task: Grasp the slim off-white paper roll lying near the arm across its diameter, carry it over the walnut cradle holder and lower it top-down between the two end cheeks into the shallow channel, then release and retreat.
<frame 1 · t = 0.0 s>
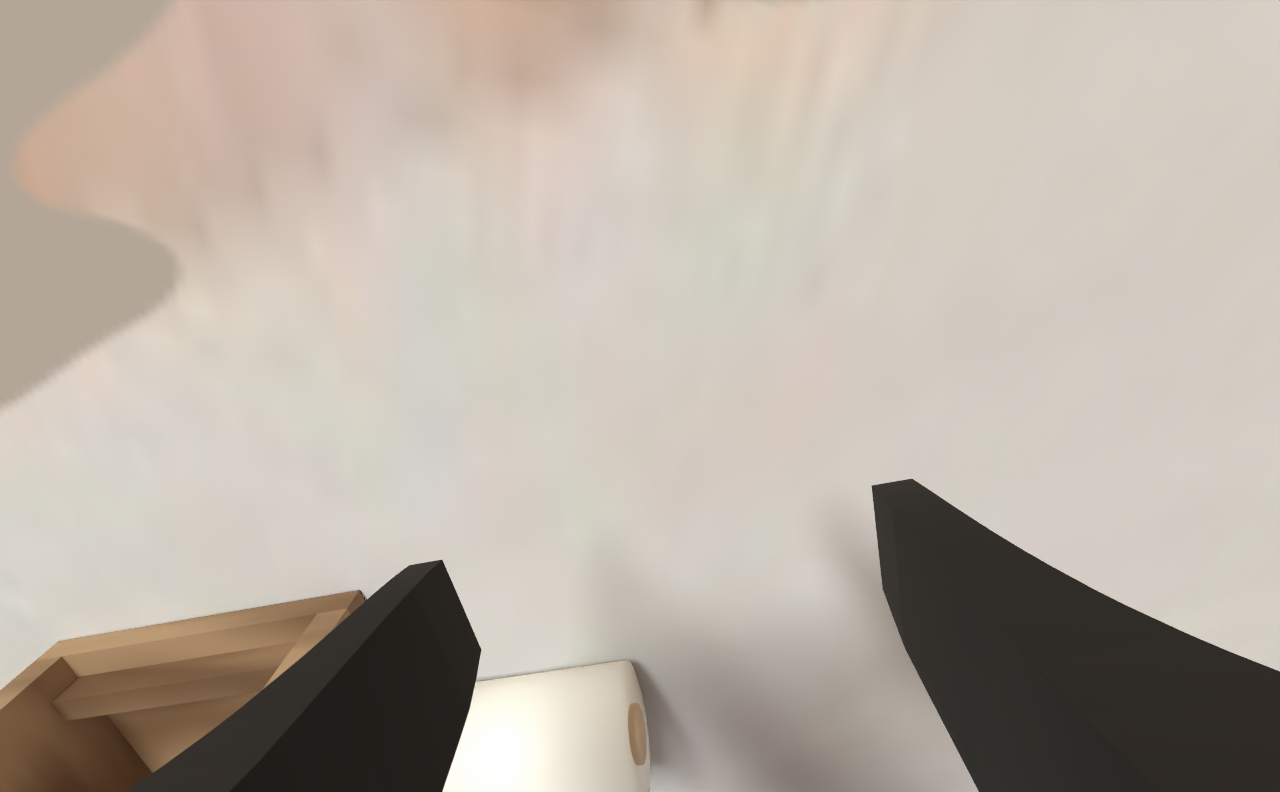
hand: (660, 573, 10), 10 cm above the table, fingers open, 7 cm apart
roll: (542, 691, 26), on the table
holder: (261, 707, 27), on the table
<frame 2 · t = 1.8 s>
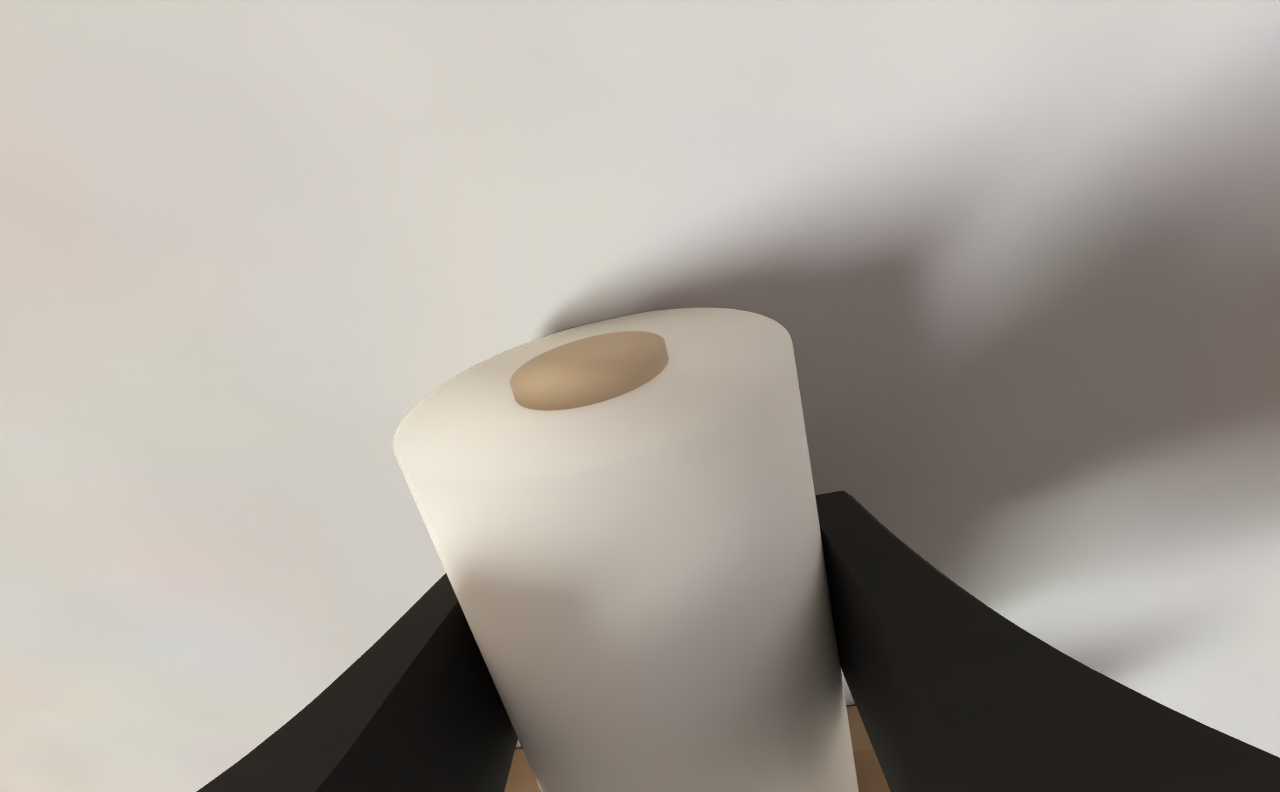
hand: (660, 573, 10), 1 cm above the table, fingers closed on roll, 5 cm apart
roll: (661, 520, 12), on the table, touching gripper
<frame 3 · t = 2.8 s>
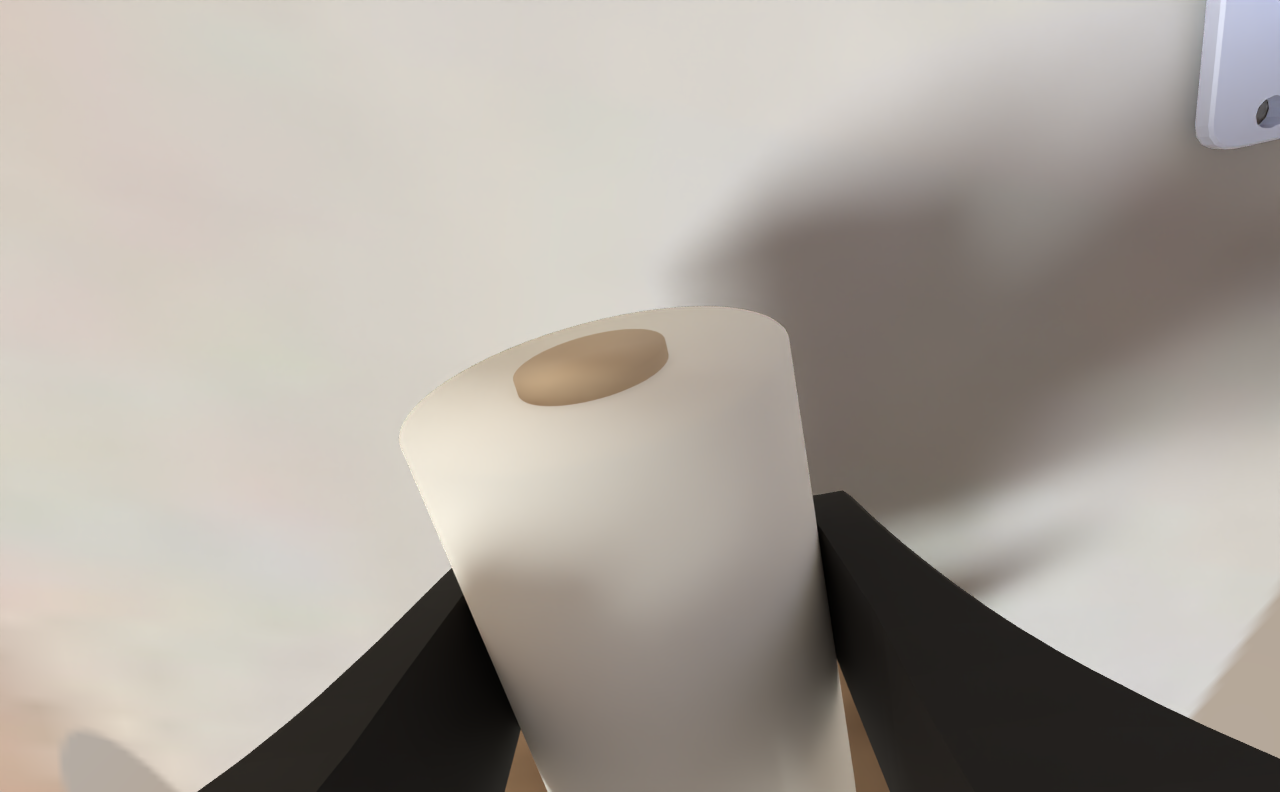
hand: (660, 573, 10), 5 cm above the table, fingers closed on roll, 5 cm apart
roll: (654, 518, 12), point 3 cm above the table, touching gripper
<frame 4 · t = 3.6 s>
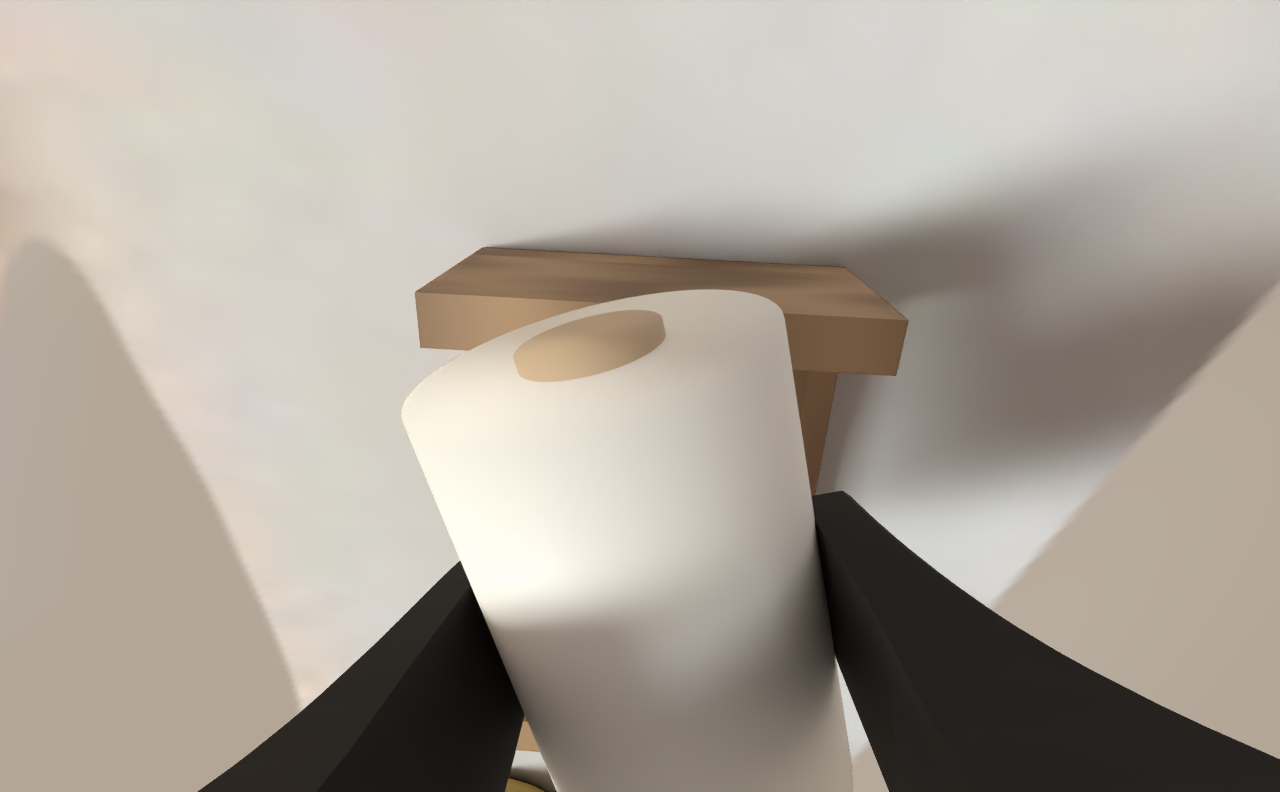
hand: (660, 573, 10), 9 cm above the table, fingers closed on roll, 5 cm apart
roll: (644, 504, 12), point 7 cm above the table, tilted 7°, touching gripper
holder: (650, 468, 20), on the table
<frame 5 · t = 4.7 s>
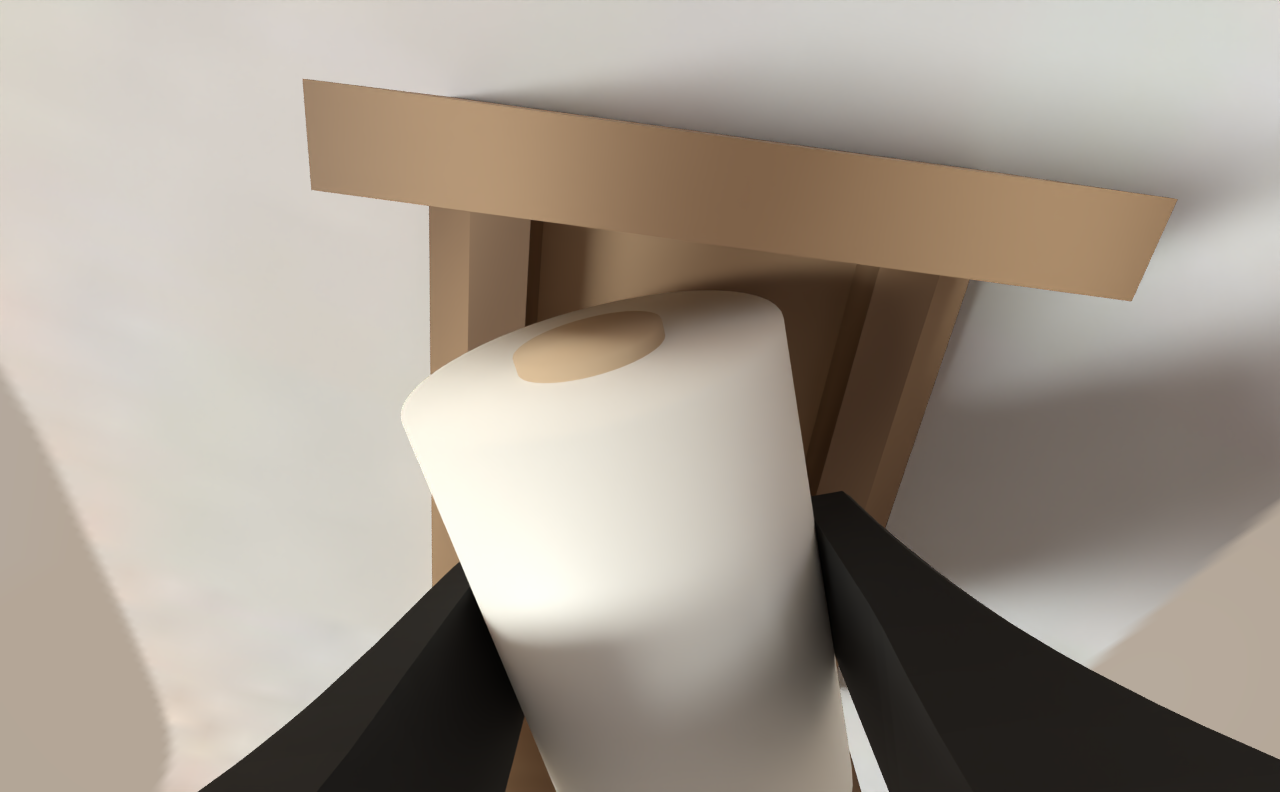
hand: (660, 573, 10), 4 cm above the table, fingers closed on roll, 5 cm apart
roll: (644, 504, 12), point 2 cm above the table, tilted 7°, touching gripper
holder: (663, 448, 14), on the table
when the fingers open (4 cm above the table, at t = 5.3 s): roll stays where it is, resting on holder.
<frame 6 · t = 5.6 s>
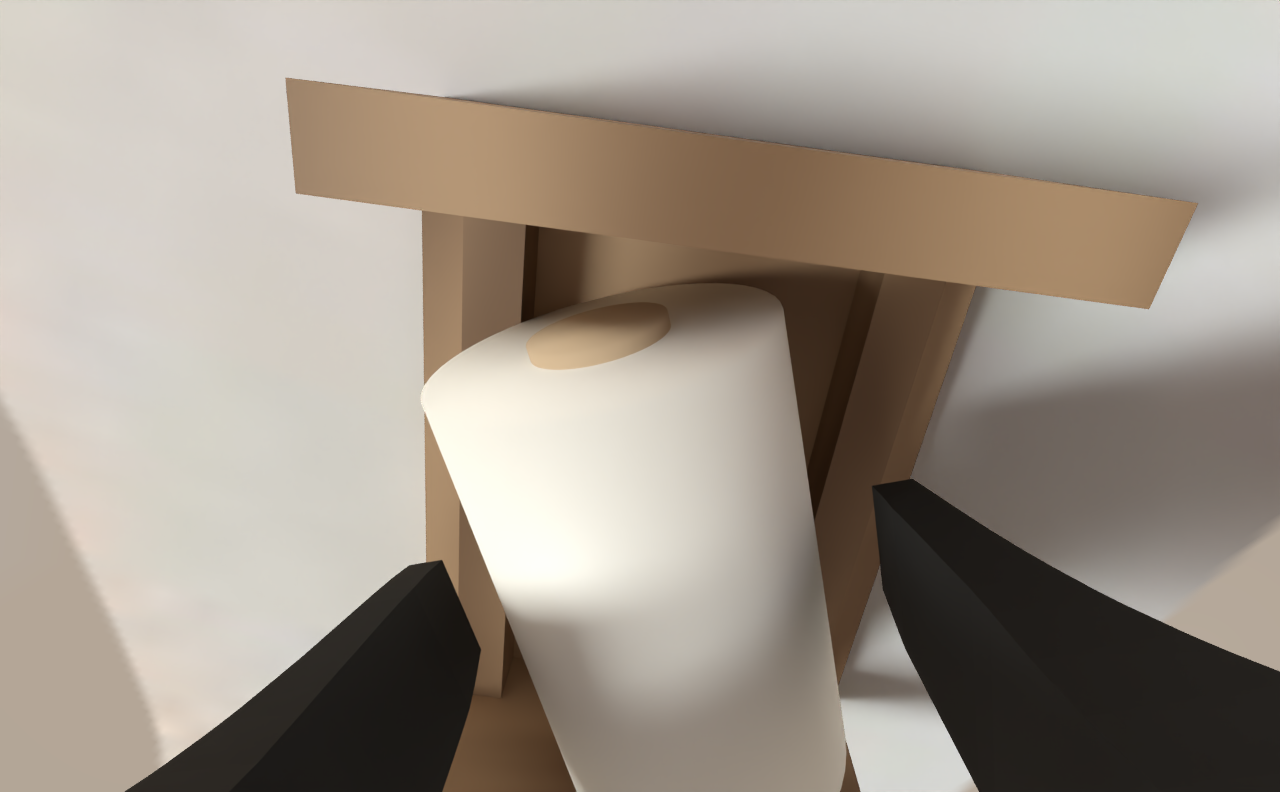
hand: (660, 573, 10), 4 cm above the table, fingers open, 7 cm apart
roll: (644, 490, 13), point 2 cm above the table, tilted 8°, touching holder
holder: (663, 456, 14), on the table
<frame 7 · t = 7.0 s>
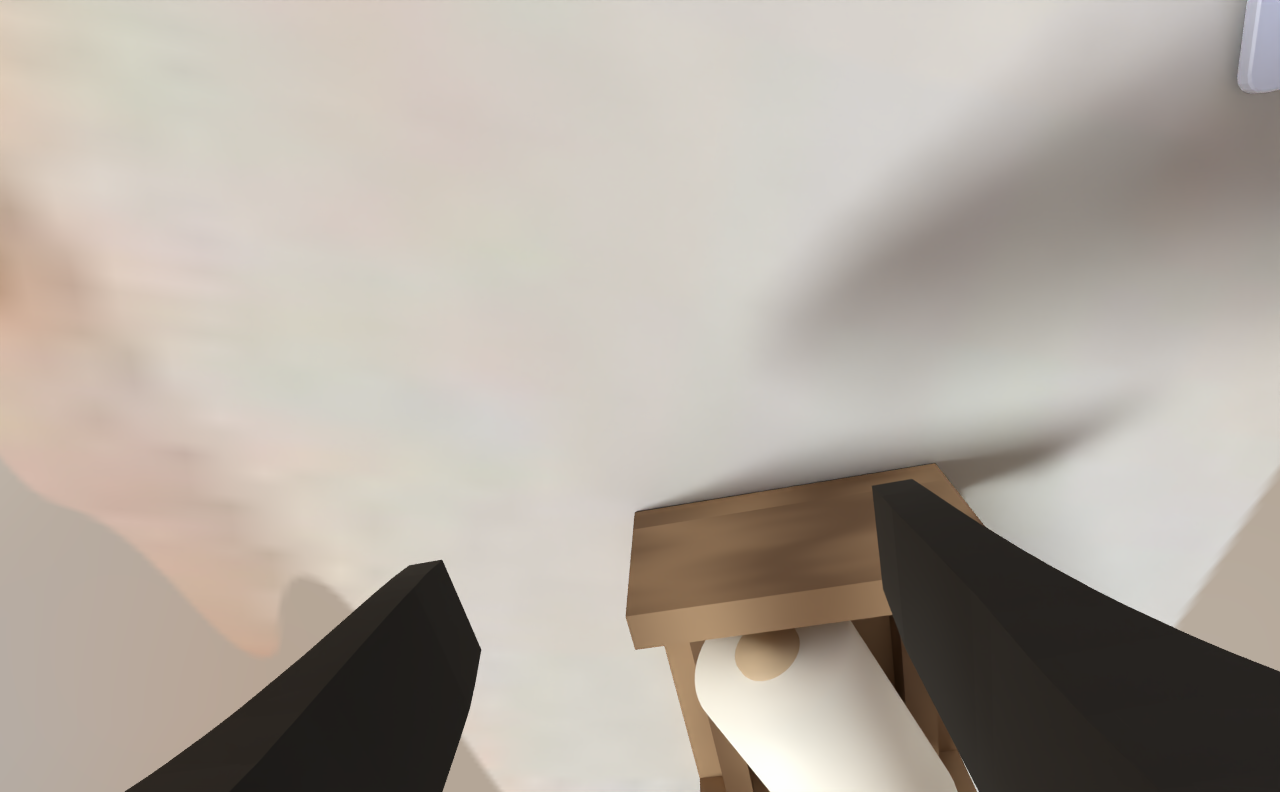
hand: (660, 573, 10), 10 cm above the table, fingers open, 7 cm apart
roll: (802, 674, 22), point 2 cm above the table, tilted 8°, touching holder
holder: (804, 639, 24), on the table
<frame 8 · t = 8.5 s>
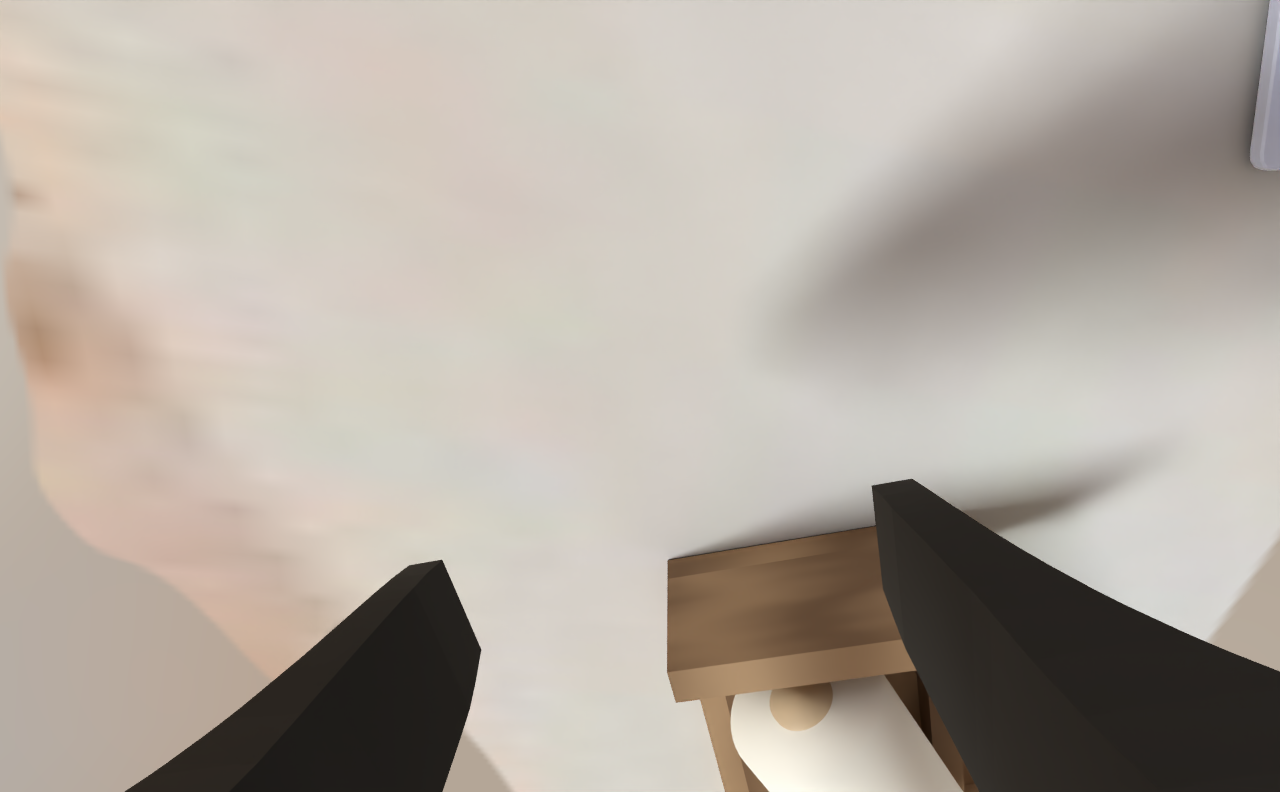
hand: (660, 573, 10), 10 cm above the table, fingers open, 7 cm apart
roll: (831, 714, 23), point 2 cm above the table, tilted 8°, touching holder
holder: (831, 678, 24), on the table
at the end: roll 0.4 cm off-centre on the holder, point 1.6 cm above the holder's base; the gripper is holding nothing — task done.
